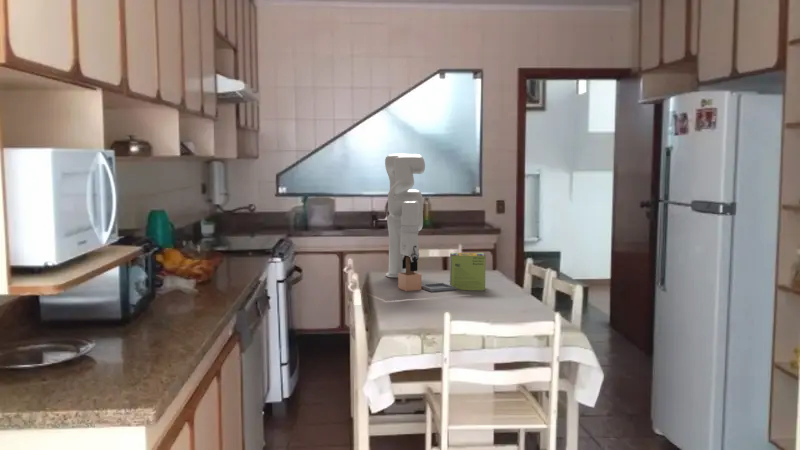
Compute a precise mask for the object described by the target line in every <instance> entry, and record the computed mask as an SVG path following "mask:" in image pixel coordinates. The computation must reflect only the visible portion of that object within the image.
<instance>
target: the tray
mask: <svg viewBox="0 0 800 450" xmlns="http://www.w3.org/2000/svg"><path fill="white" fill-rule="evenodd" d="M421 290H424V291H427V292H430V293H438V292H439V293H440V292H450V291H457V288H456V287H455V286H452V285H450V283H449V284H448V283H445V282H435V283H434V282H433V283H424V284H423V283H421Z"/></svg>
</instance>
